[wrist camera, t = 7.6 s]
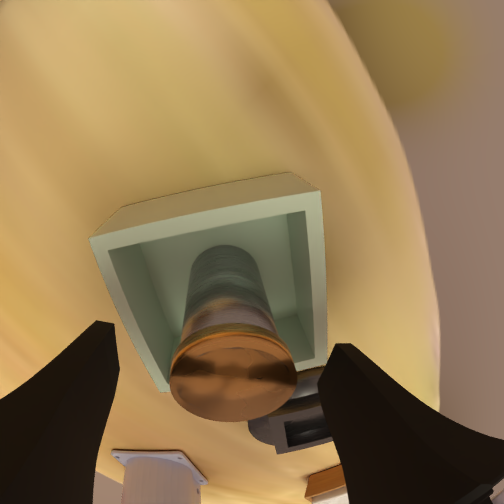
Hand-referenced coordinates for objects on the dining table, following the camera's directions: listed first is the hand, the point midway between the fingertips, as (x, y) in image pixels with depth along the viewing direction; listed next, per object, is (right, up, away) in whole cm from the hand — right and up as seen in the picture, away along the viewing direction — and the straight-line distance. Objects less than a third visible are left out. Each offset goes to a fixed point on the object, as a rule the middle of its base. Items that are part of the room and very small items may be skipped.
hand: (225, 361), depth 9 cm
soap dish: (+14, -26, +21) cm, 36 cm away
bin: (-1, +3, +6) cm, 7 cm away
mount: (+5, -9, +12) cm, 16 cm away
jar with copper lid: (-1, +2, +5) cm, 6 cm away
